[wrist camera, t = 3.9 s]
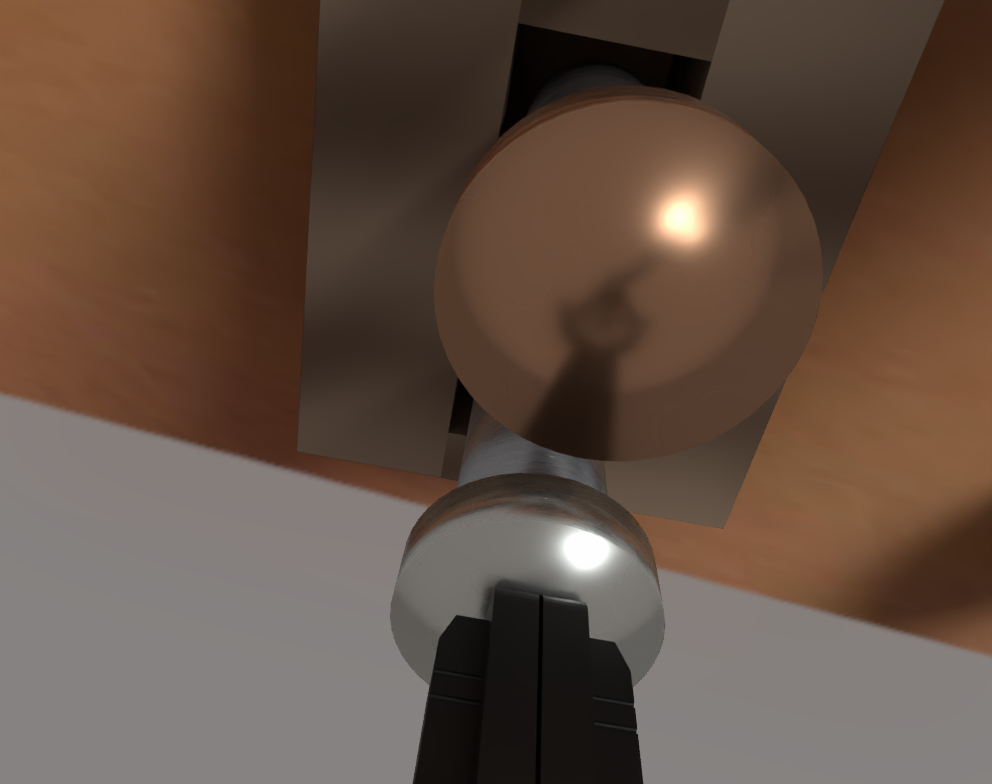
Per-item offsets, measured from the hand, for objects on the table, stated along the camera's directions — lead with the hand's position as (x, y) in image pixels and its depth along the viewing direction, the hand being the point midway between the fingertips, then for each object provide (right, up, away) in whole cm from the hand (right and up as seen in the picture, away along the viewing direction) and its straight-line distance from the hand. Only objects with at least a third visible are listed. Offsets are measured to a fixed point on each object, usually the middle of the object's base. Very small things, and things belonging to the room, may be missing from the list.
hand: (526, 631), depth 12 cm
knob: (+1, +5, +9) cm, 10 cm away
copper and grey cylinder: (+2, +10, +5) cm, 11 cm away
